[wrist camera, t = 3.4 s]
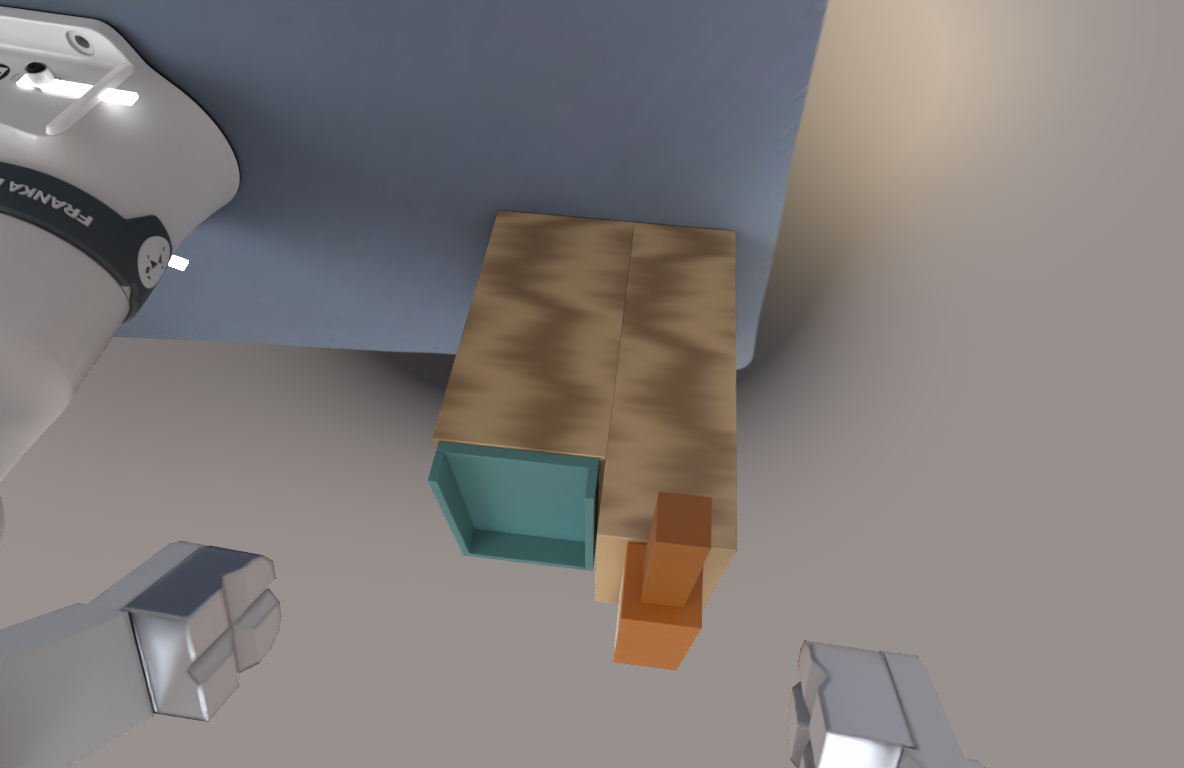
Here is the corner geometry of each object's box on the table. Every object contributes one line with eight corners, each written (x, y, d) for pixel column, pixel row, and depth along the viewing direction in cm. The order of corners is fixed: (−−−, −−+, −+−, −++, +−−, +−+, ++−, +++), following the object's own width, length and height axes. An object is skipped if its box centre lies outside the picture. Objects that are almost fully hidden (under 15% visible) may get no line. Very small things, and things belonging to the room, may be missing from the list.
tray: (471, 521, 52) (463, 555, 51) (438, 440, 41) (427, 480, 39) (597, 536, 52) (593, 571, 50) (599, 458, 40) (594, 499, 39)
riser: (514, 320, 64) (451, 583, 50) (497, 210, 52) (410, 513, 38) (708, 339, 63) (701, 614, 49) (735, 230, 51) (737, 550, 37)
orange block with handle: (680, 606, 48) (677, 670, 45) (618, 598, 48) (612, 662, 45) (736, 479, 30) (736, 574, 27) (637, 468, 30) (628, 562, 27)
